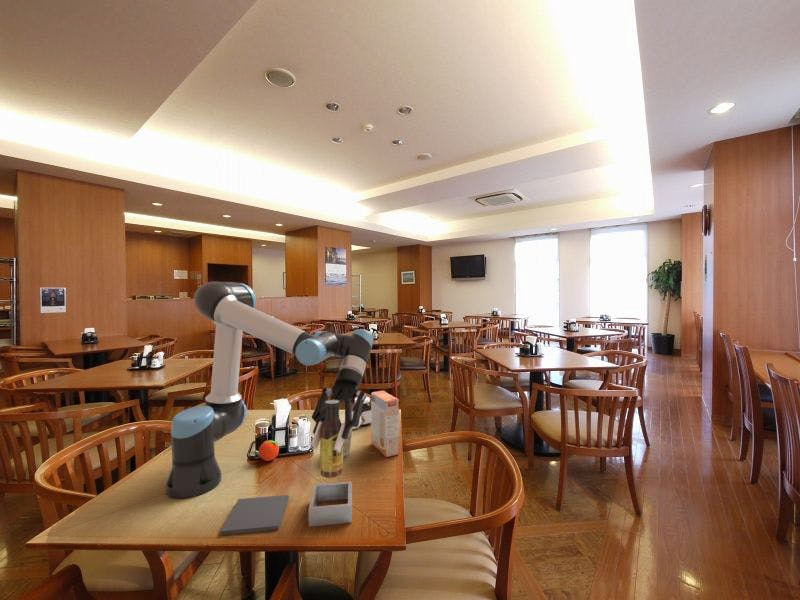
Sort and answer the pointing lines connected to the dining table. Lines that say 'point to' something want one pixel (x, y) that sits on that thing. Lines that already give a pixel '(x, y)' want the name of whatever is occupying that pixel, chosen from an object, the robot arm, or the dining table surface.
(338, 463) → the sauce bottle
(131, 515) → the dining table surface
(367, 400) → the spread jar
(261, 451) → the clementine
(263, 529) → the rubber mat
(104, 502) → the dining table surface
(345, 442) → the mug
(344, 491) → the grey shallow open box
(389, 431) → the cracker box
